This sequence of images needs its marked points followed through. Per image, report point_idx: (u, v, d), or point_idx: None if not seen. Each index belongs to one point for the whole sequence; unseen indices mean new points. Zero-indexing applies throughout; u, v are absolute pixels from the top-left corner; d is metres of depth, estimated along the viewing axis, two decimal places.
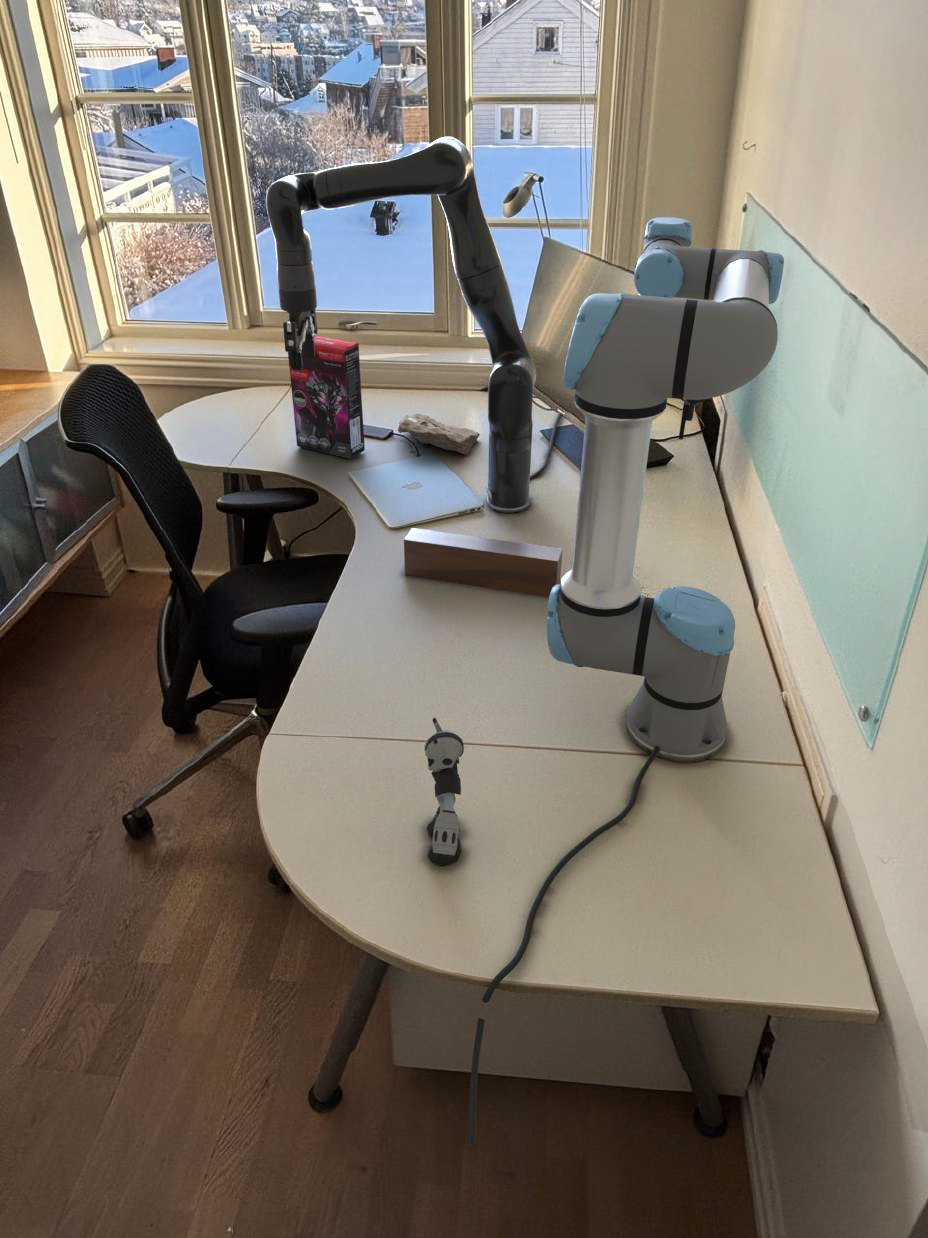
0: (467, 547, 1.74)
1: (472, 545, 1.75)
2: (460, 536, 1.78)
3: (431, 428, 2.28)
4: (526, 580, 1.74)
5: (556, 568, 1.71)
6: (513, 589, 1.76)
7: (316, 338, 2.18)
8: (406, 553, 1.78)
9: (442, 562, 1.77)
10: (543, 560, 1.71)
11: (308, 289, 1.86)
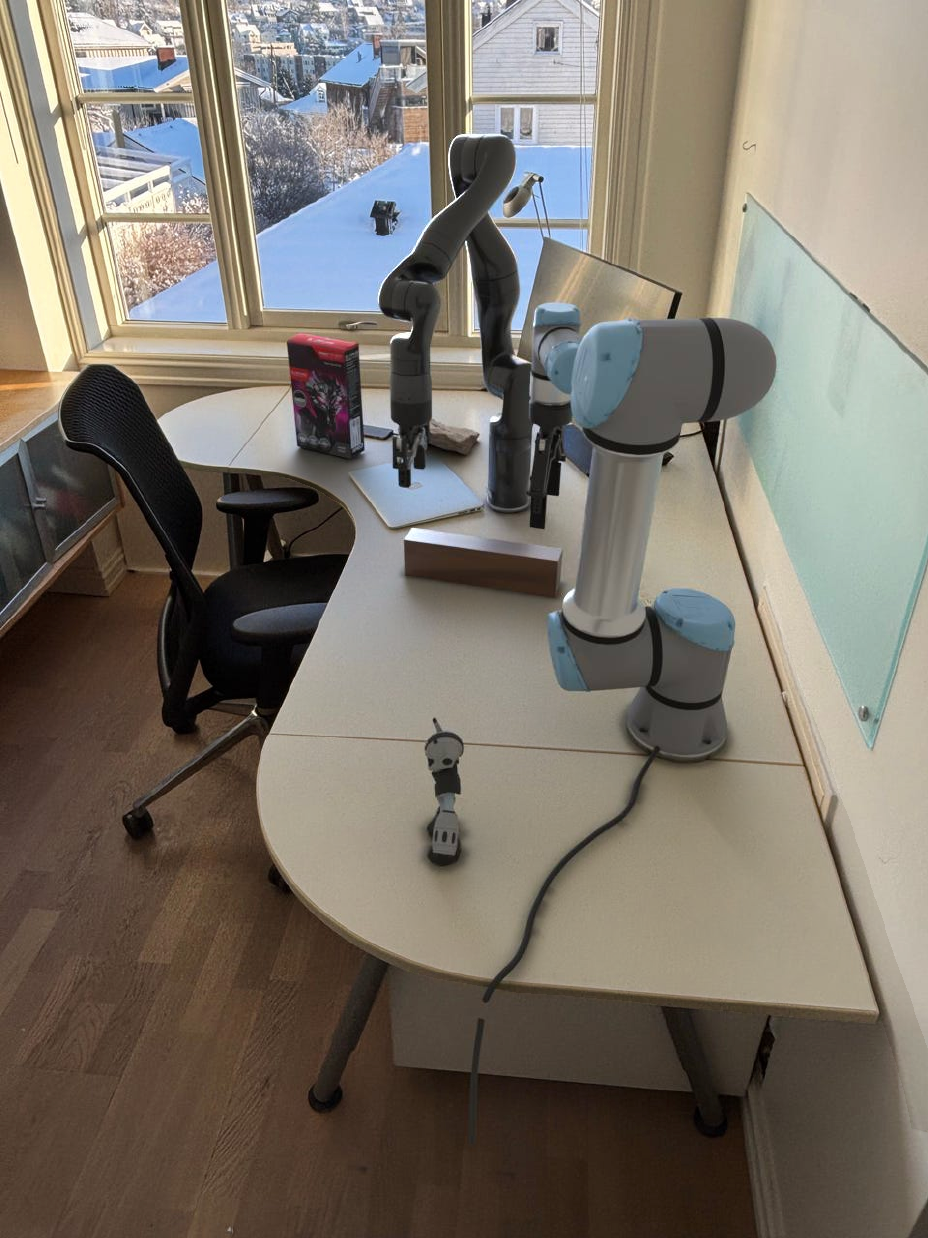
0: (467, 547, 1.74)
1: (472, 545, 1.75)
2: (460, 536, 1.78)
3: (431, 428, 2.28)
4: (526, 580, 1.74)
5: (556, 568, 1.71)
6: (513, 589, 1.76)
7: (316, 338, 2.18)
8: (406, 553, 1.78)
9: (442, 562, 1.77)
10: (543, 560, 1.71)
11: (423, 401, 1.63)
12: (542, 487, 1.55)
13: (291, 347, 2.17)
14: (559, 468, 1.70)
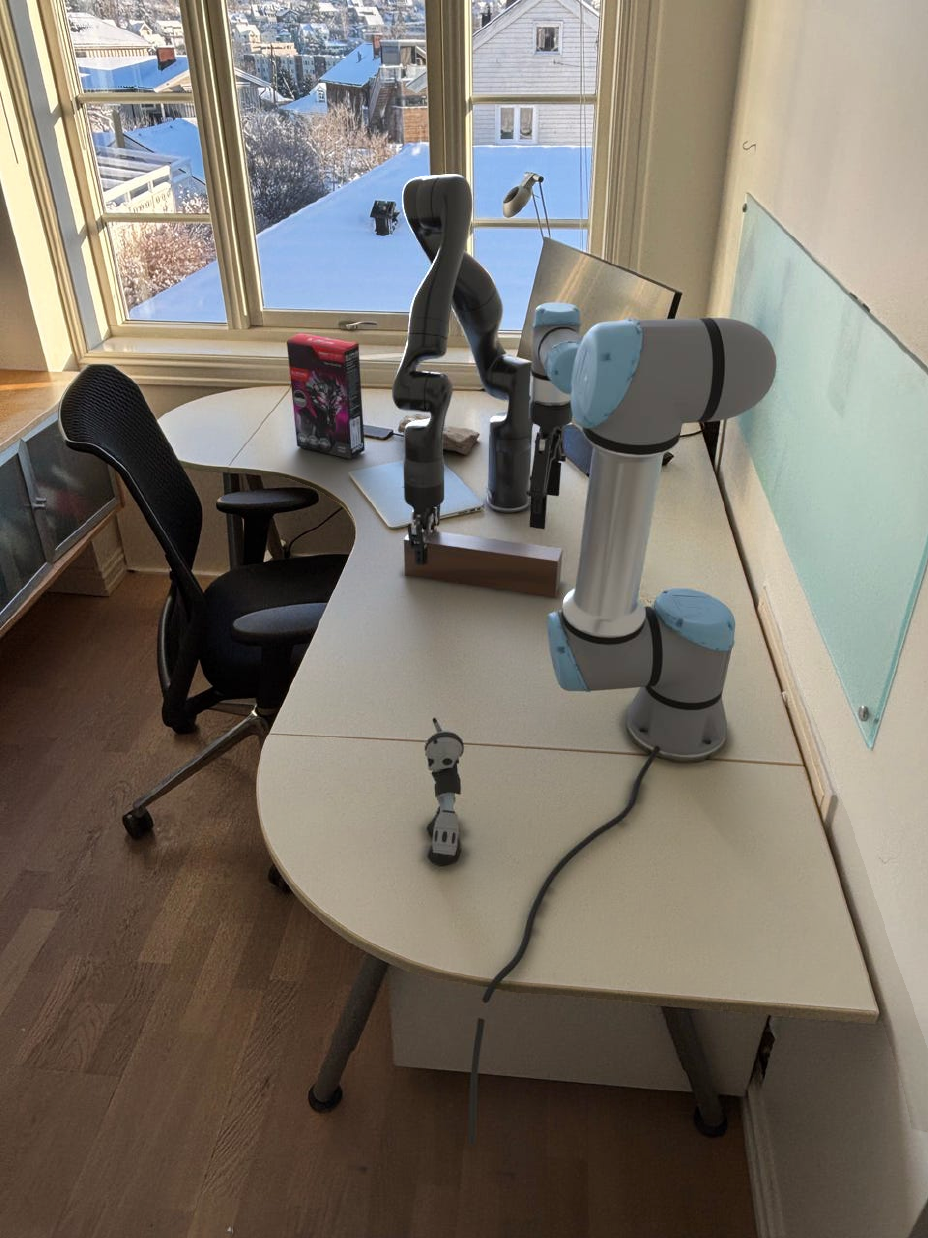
0: (467, 547, 1.74)
1: (472, 545, 1.75)
2: (460, 536, 1.78)
3: None
4: (526, 580, 1.74)
5: (556, 568, 1.71)
6: (513, 589, 1.76)
7: (316, 338, 2.18)
8: (406, 553, 1.78)
9: (442, 562, 1.77)
10: (543, 560, 1.71)
11: (436, 485, 1.69)
12: (542, 487, 1.55)
13: (291, 347, 2.17)
14: (559, 468, 1.70)
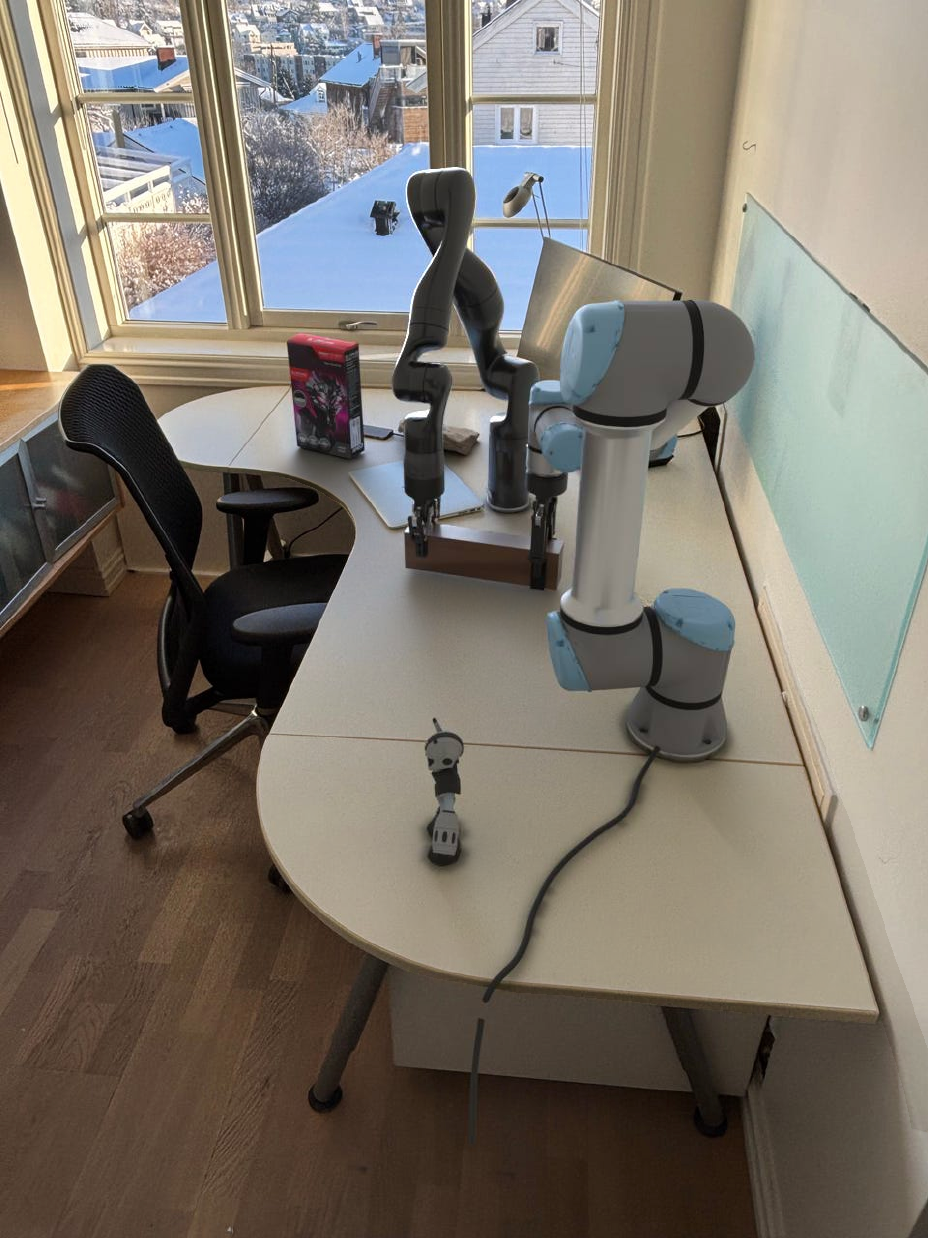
0: (468, 539, 1.73)
1: (473, 538, 1.74)
2: (460, 529, 1.77)
3: None
4: (527, 572, 1.73)
5: (557, 561, 1.70)
6: (514, 582, 1.75)
7: (316, 338, 2.18)
8: (406, 546, 1.77)
9: (443, 555, 1.76)
10: None
11: (437, 477, 1.68)
12: (541, 556, 1.66)
13: (291, 347, 2.17)
14: None
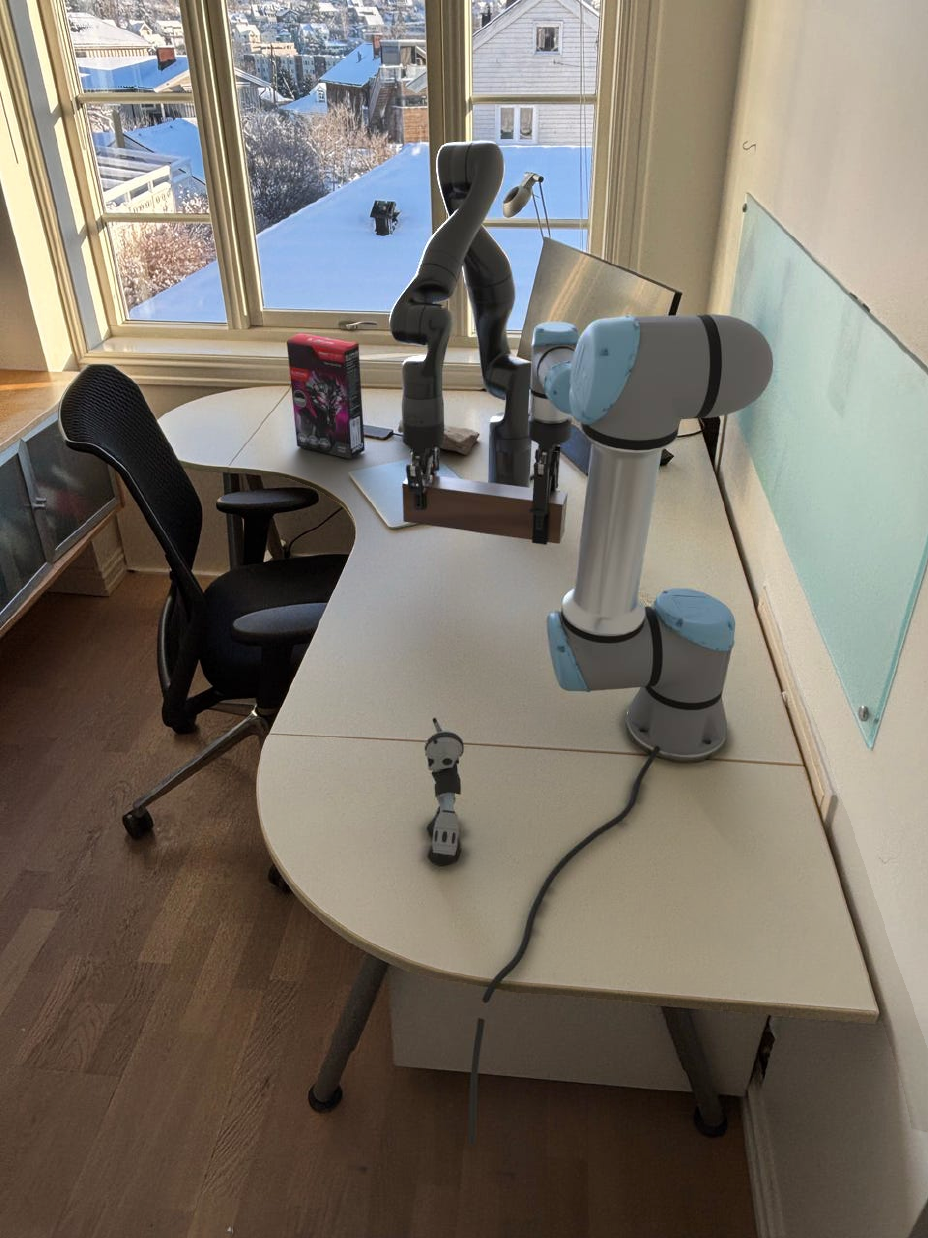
0: (468, 490, 1.68)
1: (473, 489, 1.68)
2: (461, 480, 1.71)
3: None
4: (529, 525, 1.68)
5: (561, 512, 1.65)
6: (515, 535, 1.70)
7: (316, 338, 2.18)
8: (405, 498, 1.72)
9: (442, 507, 1.71)
10: None
11: (436, 424, 1.62)
12: (544, 507, 1.61)
13: (291, 347, 2.17)
14: None
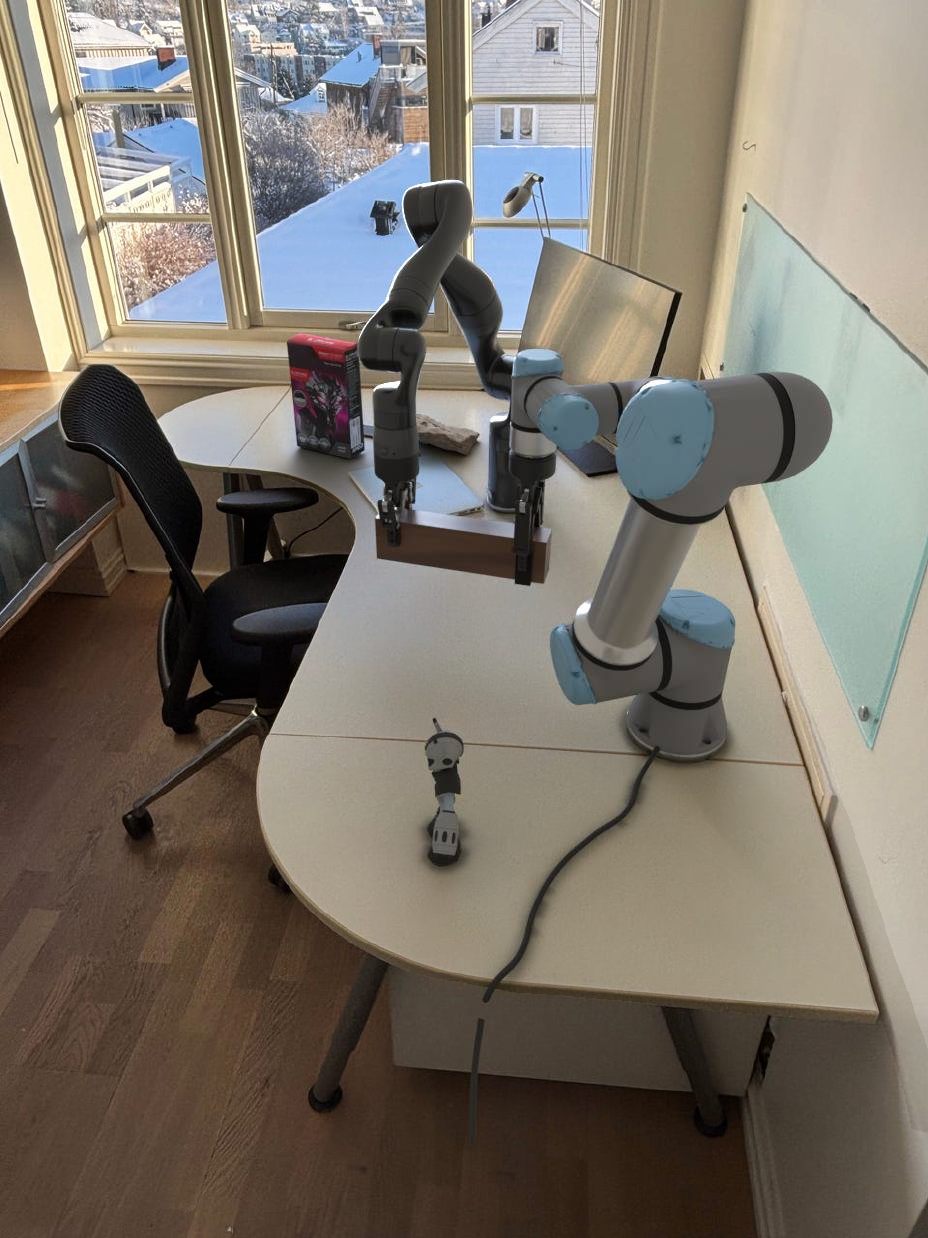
0: (445, 527, 1.56)
1: (451, 525, 1.56)
2: (438, 515, 1.59)
3: (431, 428, 2.28)
4: (511, 564, 1.56)
5: (545, 550, 1.53)
6: (496, 574, 1.58)
7: (316, 338, 2.18)
8: (378, 534, 1.60)
9: (418, 544, 1.59)
10: None
11: (410, 456, 1.50)
12: (526, 547, 1.49)
13: (291, 347, 2.17)
14: None
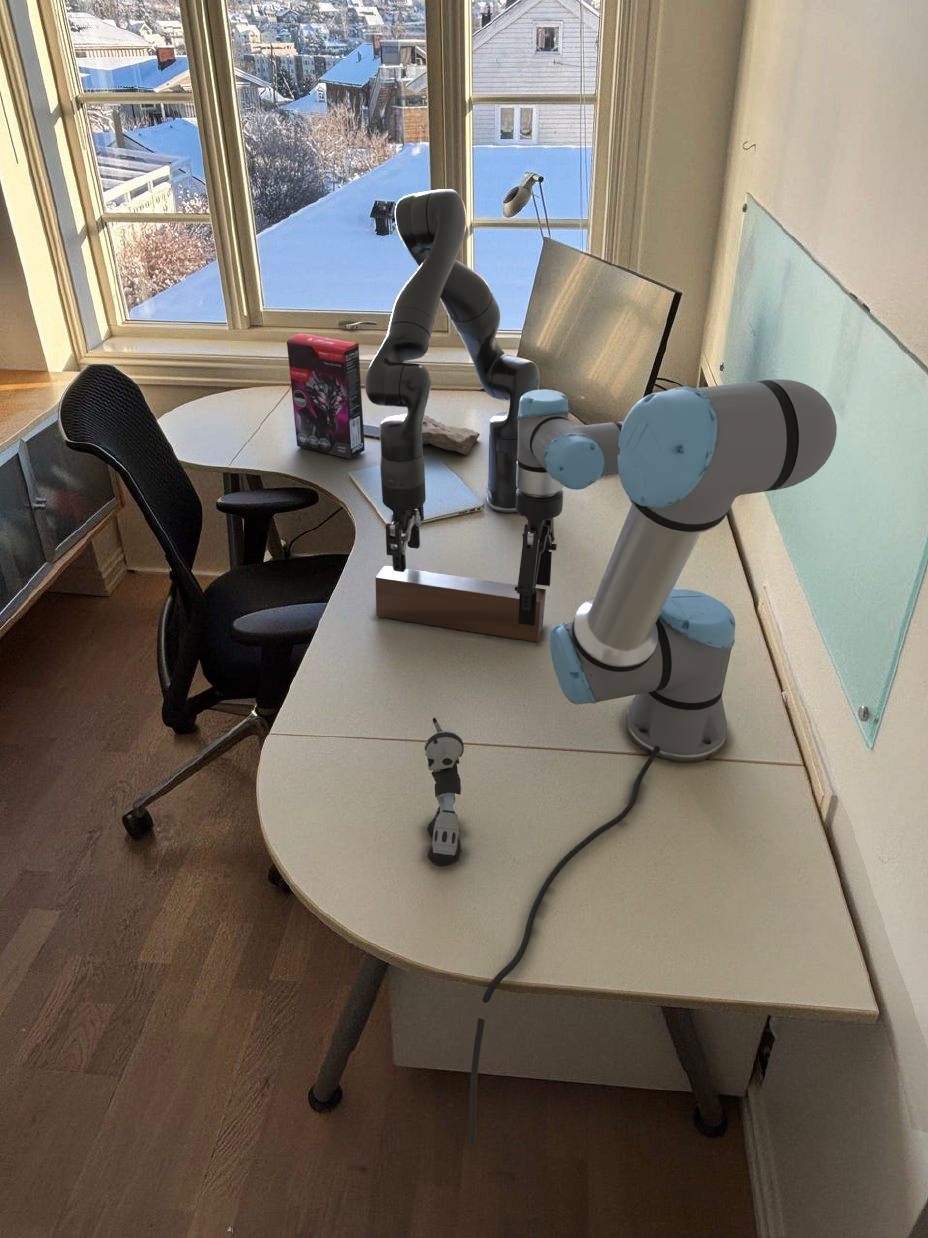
0: (443, 586, 1.62)
1: (449, 584, 1.63)
2: (436, 575, 1.66)
3: (431, 428, 2.28)
4: (506, 622, 1.62)
5: (539, 609, 1.59)
6: (492, 632, 1.64)
7: (316, 338, 2.18)
8: (378, 592, 1.66)
9: (416, 602, 1.65)
10: None
11: (416, 486, 1.56)
12: (531, 583, 1.45)
13: (291, 347, 2.17)
14: (550, 557, 1.60)
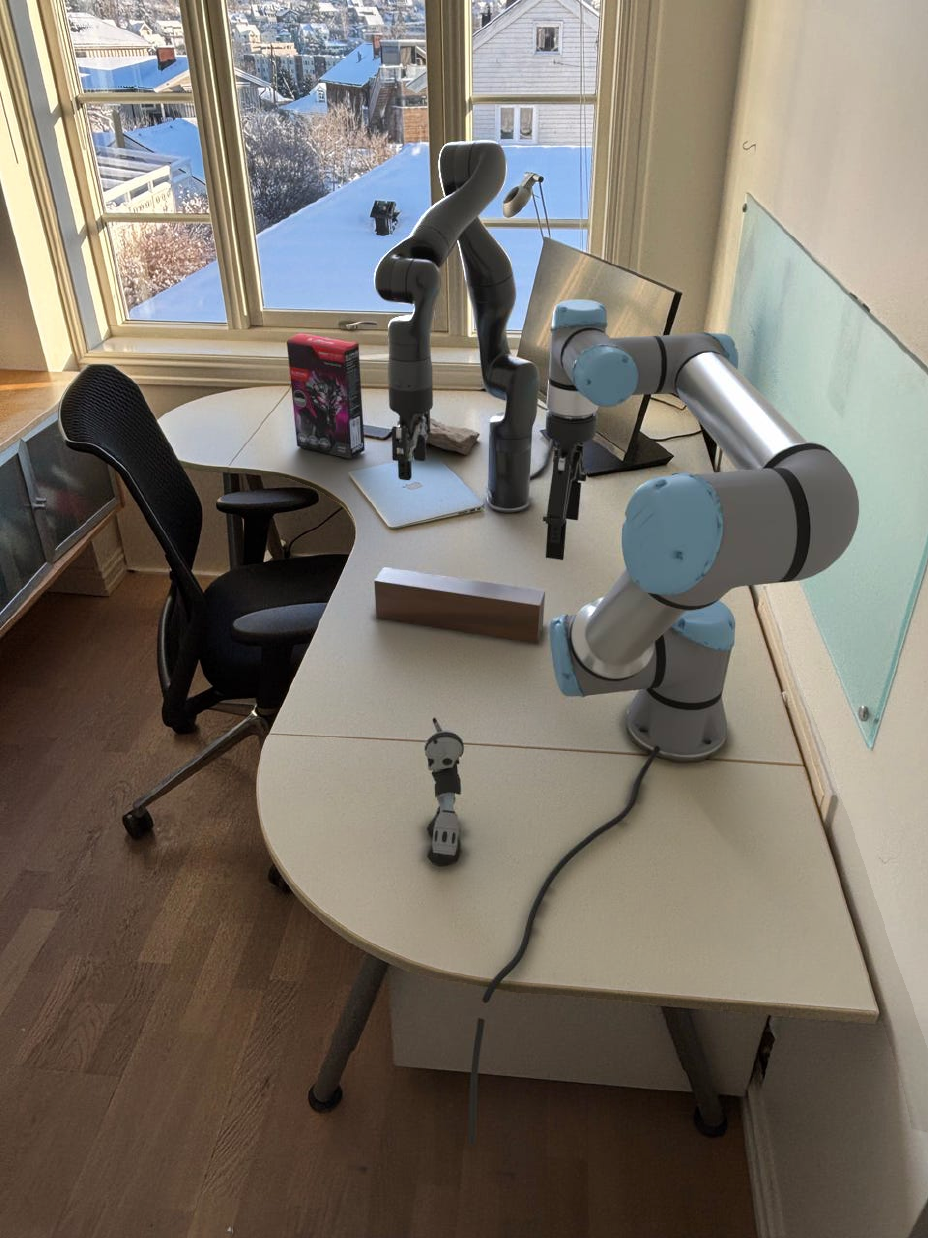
0: (442, 589, 1.62)
1: (448, 587, 1.62)
2: (435, 577, 1.65)
3: (431, 428, 2.28)
4: (506, 624, 1.62)
5: (538, 613, 1.59)
6: (492, 634, 1.64)
7: (316, 338, 2.18)
8: (377, 595, 1.66)
9: (416, 605, 1.65)
10: (524, 604, 1.58)
11: (424, 388, 1.54)
12: (561, 513, 1.34)
13: (291, 347, 2.17)
14: (579, 489, 1.49)
